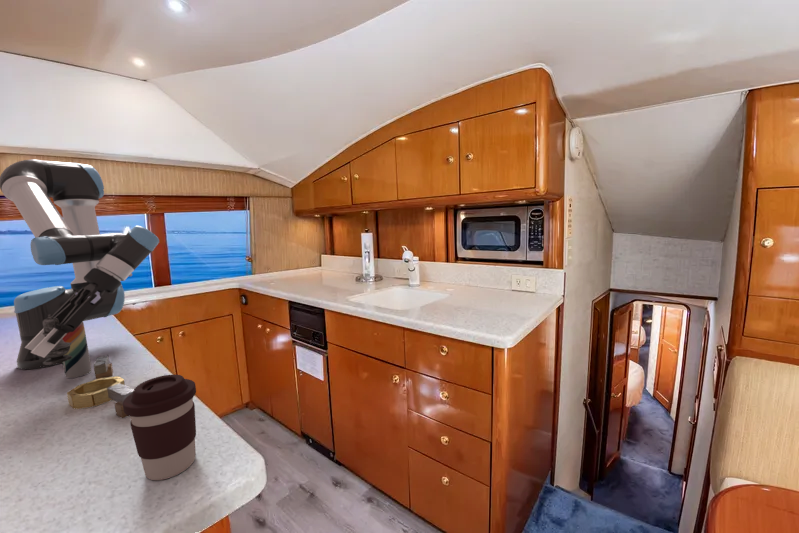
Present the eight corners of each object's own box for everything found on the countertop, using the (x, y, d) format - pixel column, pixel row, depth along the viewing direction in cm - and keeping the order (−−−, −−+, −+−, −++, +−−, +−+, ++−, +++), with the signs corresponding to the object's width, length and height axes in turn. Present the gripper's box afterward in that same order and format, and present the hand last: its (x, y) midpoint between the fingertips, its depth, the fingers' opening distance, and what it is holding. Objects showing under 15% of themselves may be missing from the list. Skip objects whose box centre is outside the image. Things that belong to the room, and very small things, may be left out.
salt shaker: (53, 365, 83) (44, 317, 82) (34, 364, 85) (25, 317, 83) (79, 356, 89) (72, 311, 87) (61, 355, 90) (53, 310, 88)
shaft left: (111, 381, 94) (108, 363, 93) (93, 385, 92) (90, 366, 91) (113, 371, 101) (110, 354, 100) (97, 375, 99) (94, 358, 98)
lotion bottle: (60, 377, 99) (48, 308, 96) (85, 368, 104) (73, 304, 101) (72, 379, 96) (59, 310, 94) (96, 371, 102) (84, 304, 99)
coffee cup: (217, 452, 62) (207, 373, 60) (164, 494, 53) (150, 401, 51) (177, 443, 65) (166, 367, 63) (120, 481, 56) (105, 393, 54)
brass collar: (65, 401, 84) (62, 389, 83) (115, 384, 92) (114, 373, 92) (77, 412, 78) (75, 400, 78) (130, 393, 86) (128, 382, 86)
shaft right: (107, 410, 79) (103, 388, 78) (126, 402, 82) (122, 382, 81) (123, 419, 75) (120, 396, 74) (142, 410, 78) (139, 389, 77)
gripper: (135, 285, 92) (62, 367, 81) (110, 280, 102) (42, 352, 91) (107, 268, 87) (24, 353, 76) (83, 264, 97) (8, 338, 86)
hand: (34, 352), depth 83 cm, fingers closed on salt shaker, 5 cm apart
